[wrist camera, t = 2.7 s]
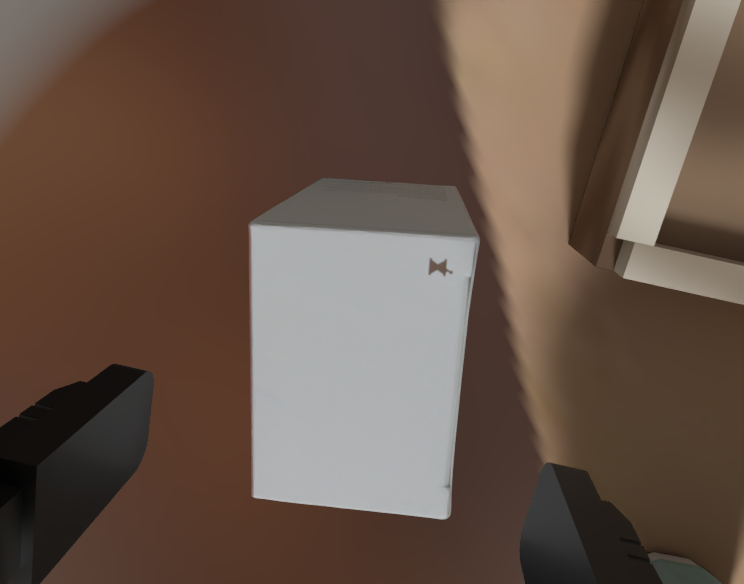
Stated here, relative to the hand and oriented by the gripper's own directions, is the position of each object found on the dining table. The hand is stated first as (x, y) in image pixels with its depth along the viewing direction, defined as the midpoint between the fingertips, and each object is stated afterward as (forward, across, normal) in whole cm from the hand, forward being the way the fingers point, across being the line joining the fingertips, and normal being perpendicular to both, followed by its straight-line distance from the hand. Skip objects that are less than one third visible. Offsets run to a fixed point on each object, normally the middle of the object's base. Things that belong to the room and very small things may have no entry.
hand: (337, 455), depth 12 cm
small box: (+14, 0, 0) cm, 14 cm away
